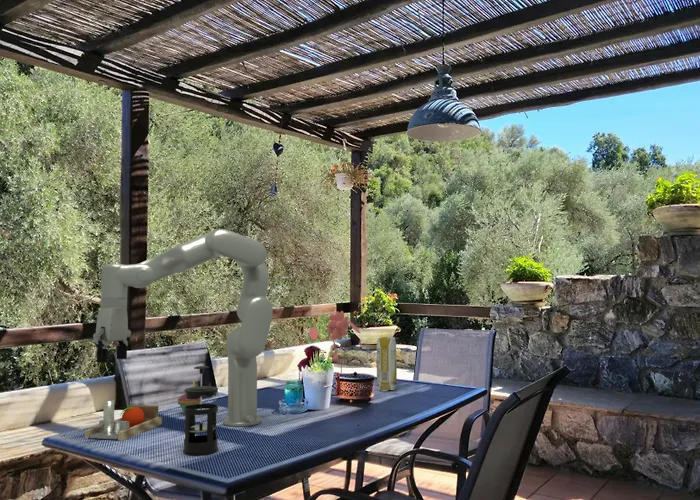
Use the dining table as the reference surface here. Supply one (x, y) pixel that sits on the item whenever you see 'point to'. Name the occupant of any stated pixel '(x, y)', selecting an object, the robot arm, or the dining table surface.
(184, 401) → the cupcake
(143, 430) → the wooden tray
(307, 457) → the dining table surface
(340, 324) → the pink artificial flower
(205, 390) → the french press
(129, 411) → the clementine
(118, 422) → the press jaw
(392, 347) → the juice carton
